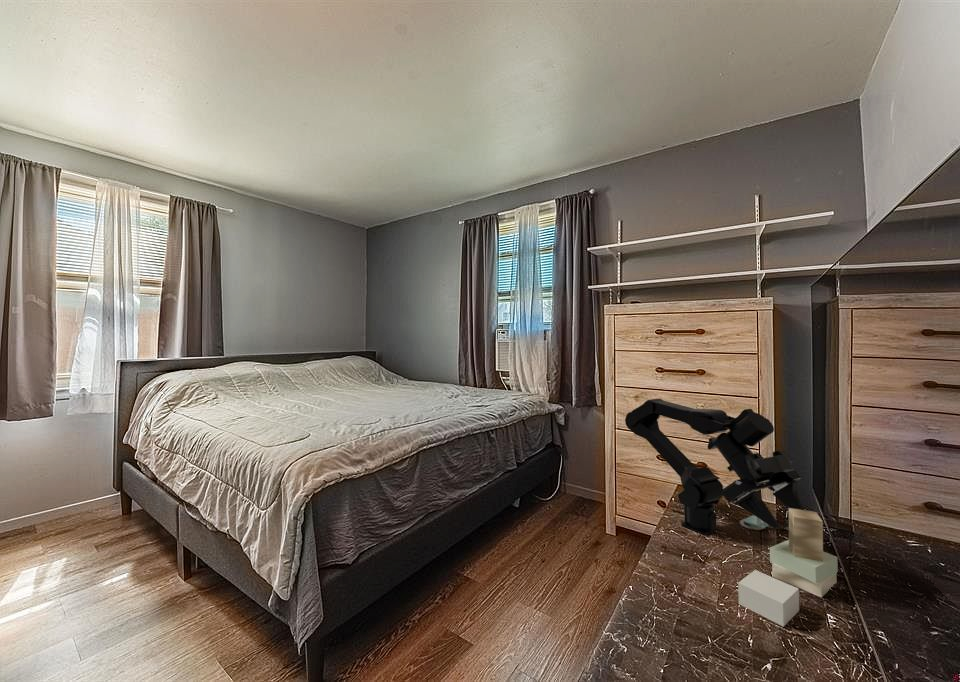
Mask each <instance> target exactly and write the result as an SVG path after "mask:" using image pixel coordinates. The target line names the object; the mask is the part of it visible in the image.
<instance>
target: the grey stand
mask: <svg viewBox="0 0 960 682" xmlns="http://www.w3.org/2000/svg"><path fill="white" fill-rule="evenodd" d="M737 587H738V590H737V592H738V605H741V606H742V607H744V608H746V609H748V610H750V611H752V612H754V613H756V614H758V615H759V616H761V617H764V618H766V619H767V620H769V621H772V622H774V623H775V624H777V625H779V626H781V627H783V628H784V627H785V626H786V625H787V624H788V623H789V622H790V621H791V620H792V619H793V618H794V617H795V616H796V615H797V614H798V613H799V611H800V590H799V589H800V588H798V587H796V586H794V585H791V584H789V583H787V582H784V581H782V580H780V579H778V578H775V577H773V576H770V575H768V574H765V573H763V572H761V571H759V570H756V569H754V570H753V571H751V572H750V573H749V574H748V575H745V577H744V578H742V580H740V581H738V584H737Z"/></svg>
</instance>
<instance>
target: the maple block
mask: <svg viewBox="0 0 960 682" xmlns="http://www.w3.org/2000/svg"><path fill="white" fill-rule="evenodd" d="M823 526H824V523H823V520H822V518H821V517H820V516H819V514H818V513H817V512H816V511H811V510H805V509H804V510H799V509H793V508H788V540H789V546H790V548H791V551H792V553H793V555H794V556H797V557H802V558H807V559H812V560H817V561H821V562H823V551H824V536H823V535H824V532H823V531H824V530H823V529H824V527H823Z"/></svg>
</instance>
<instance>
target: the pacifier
mask: <svg viewBox="0 0 960 682" xmlns="http://www.w3.org/2000/svg"><path fill="white" fill-rule="evenodd" d="M747 524H748V525H747ZM739 525H740V526H741V527H743V528H745V529H751V530H755V531H761V530H763V529H764V530H765V529H766V527H767V528H768V527H769V526H770V525H768V524H767V523H765V522H764V521H762V520H761V519H759V518H758V517H756V516H755V515H753V514H752V515H750V516H747V517H746V518H743V519H741V520H739Z"/></svg>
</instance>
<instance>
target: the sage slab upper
mask: <svg viewBox="0 0 960 682" xmlns="http://www.w3.org/2000/svg"><path fill="white" fill-rule="evenodd" d="M769 563H771V564H773V563H774V564H776V565H778V566H780V567H782V568H784V569H786V570H789V571H791V572H793V573H795V574H797V575H799V576H801V577H804V578H806V579H808V580H810V581H812V582H814V583H817V582H819V581H821V580H823V579H825V578H827V577H829V576H831V575H833V574H835V573H836V574H837V573H839V572H838V568H839V567H838V557H837V556H836V555H833V554H831V553H830V552H829V553H828V552H825V551H824V550H823V562H821V561H817V560H812V559H807V558H802V557H797V556H794V555H793V553H792V551H791V548H790V546H789V539H788V540H784V541H782V542H780V543H778V544H775V545H773V546H770V547H769Z"/></svg>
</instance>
